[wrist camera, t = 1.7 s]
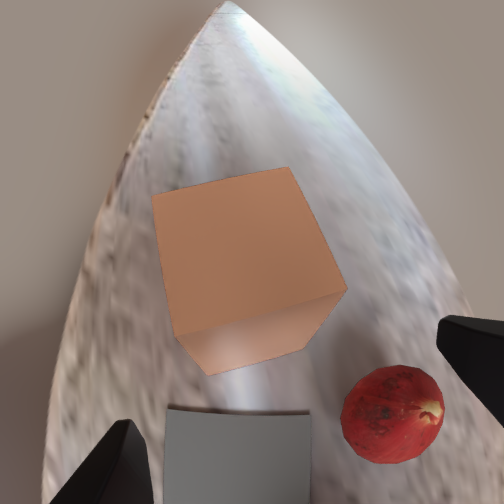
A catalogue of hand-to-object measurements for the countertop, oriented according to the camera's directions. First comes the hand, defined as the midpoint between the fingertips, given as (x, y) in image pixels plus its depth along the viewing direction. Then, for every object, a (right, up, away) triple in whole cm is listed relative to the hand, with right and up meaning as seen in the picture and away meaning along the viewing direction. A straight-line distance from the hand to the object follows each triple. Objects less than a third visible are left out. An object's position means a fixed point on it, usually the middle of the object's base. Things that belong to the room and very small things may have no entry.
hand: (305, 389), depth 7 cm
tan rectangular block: (-2, -1, +14) cm, 14 cm away
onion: (+6, -7, +10) cm, 14 cm away
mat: (-2, -10, +8) cm, 13 cm away
